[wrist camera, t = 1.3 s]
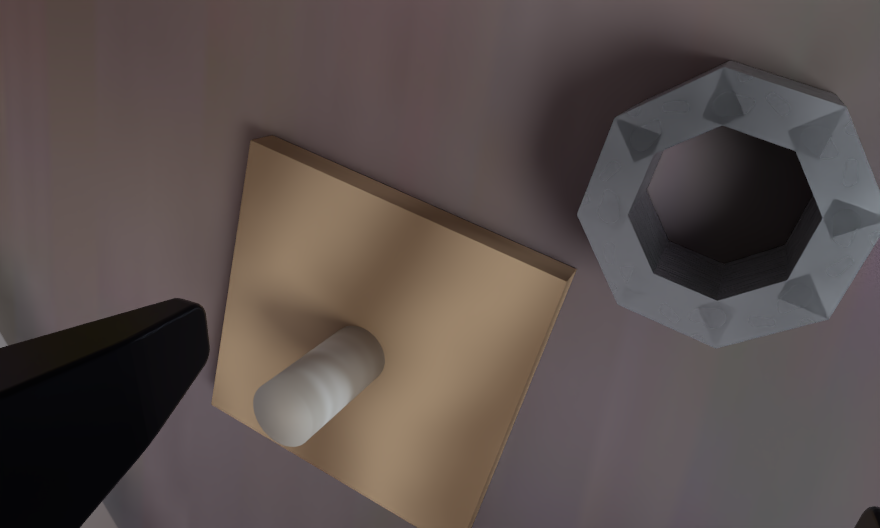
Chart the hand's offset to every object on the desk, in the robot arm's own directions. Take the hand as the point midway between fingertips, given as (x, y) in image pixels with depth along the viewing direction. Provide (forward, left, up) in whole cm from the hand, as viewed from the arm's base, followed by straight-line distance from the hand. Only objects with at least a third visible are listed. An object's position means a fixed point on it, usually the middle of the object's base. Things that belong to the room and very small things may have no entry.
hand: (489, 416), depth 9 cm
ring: (-2, -1, -13) cm, 13 cm away
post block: (+7, +9, -13) cm, 17 cm away
